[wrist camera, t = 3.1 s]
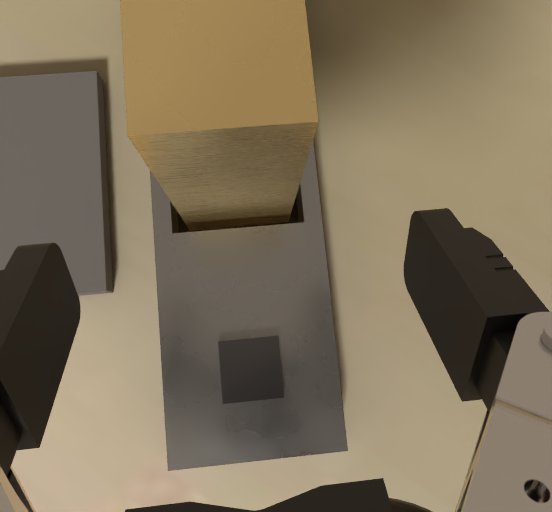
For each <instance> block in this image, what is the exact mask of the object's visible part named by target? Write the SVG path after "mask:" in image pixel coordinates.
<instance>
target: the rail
mask: <svg viewBox="0 0 552 512" xmlns="http://www.w3.org/2000/svg"><path fill="white" fill-rule="evenodd" d="M150 178H151V195H152V212H153V228H154V245H155V262H156V278H157V295H158V312H159V328H160V345H161V362H162V378H163V395H164V412H165V429H166V445H167V462H168V471H171V470H180V469H189V468H198V467H207V466H216V465H225V464H234V463H243V462H252V461H261V460H269V459H278V458H287V457H296V456H305V455H314V454H323V453H332V452H341V451H348V448H347V439H346V430H345V421H344V412H343V403H342V394H341V385H340V376H339V367H338V358H337V349H336V340H335V331H334V322H333V313H332V304H331V295H330V286H329V277H328V268H327V259H326V250H325V241H324V232H323V223H322V214H321V206H320V197H319V188H318V179H317V170H316V161H315V152H314V143H313V142H312V145H311V149H310V152H309V155H308V158H307V162H306V165H305V168H304V172H303V175H302V178H301V182H300V185H299V188H298V191H297V195H296V197H297V207H298V217H299V223H291V224H279V225H267V226H255V227H243V228H231V229H220V230H208V231H196V232H184V233H179V226H178V212H177V210H176V208H175V207H174V205H173V204H172V202H171V201H170V199H169V198H168V196H167V195H166V193H165V192H164V190H163V189H162V187H161V186H160V184H159V183H158V181H157V180H156V178H155V177H154V175H153V174H152V172H151V171H150Z"/></svg>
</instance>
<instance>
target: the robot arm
mask: <svg viewBox="0 0 552 512" xmlns="http://www.w3.org/2000/svg"><path fill="white" fill-rule="evenodd" d="M404 279H405V284H406V287H407V290H408V292H409V294H410V296H411V299H412V301H413V303H414V305H415V307H416V309H417V311H418V313H419V315H420V317H421V319H422V321H423V323H424V325H425V327H426V329H427V331H428V333H429V335H430V337H431V339H432V341H433V343H434V345H435V347H436V349H437V351H438V353H439V356H440V358H441V360H442V362H443V364H444V366H445V368H446V370H447V372H448V374H449V376H450V378H451V380H452V382H453V384H454V386H455V388H456V390H457V392H458V394H459V396H460V398H461V400H462V401H470V400H479V399H482V400H483V402H484V404H485V405H486V407H487V412H486V415H485V417H484V421H483V424H482V427H481V430H480V433H479V437H478V440H477V443H476V446H475V450H474V453H473V456H472V459H471V462H470V466H469V469H468V472H467V475H466V478H465V482H464V485H463V488H462V491H461V494H460V497H459V500H458V503H457V506H456V509H455V512H552V312H549V310H548V309H547V308H546V307H545V305H544V304H543V303H542V302H541V300H540V299H539V298H538V297H537V295H536V294H535V293H534V292H533V291H532V289H531V288H530V287H529V286H528V284H527V283H526V282H525V281H524V279H523V278H522V277H521V276H520V274H519V273H518V272H517V271H516V270H513V266H512V265H511V263H510V262H509V261H508V260H507V258H506V257H503V253H502V252H501V251H500V250H499V248H498V247H497V246H496V245H495V244H494V242H493V241H492V240H491V239H490V238H488V237H486V236H485V235H483V234H482V233H480V232H478V231H477V230H475V229H474V228H463V226H462V225H461V224H460V222H459V221H458V220H457V218H456V217H455V216H454V214H453V213H452V212H451V211H450V210H449V209H447V208H445V209H434V210H423V211H415V212H414V213H413V214H412V216H411V220H410V227H409V234H408V241H407V247H406V254H405V261H404ZM79 320H80V301H79V297H78V294H77V291H76V288H75V286H74V283H73V280H72V277H71V275H70V272H69V269H68V267H67V264H66V261H65V259H64V256H63V253H62V251H61V249H60V247H59V246H58V245H57V244H56V243H44V244H33V245H22V246H18V247H17V248H16V249H15V251H14V253H13V254H12V256H11V258H10V260H9V261H8V263H7V265H6V267H5V269H4V270H0V512H36V511H35V509H34V508H33V506H32V504H31V502H30V500H29V498H28V496H27V494H26V492H25V491H24V489H23V487H22V485H21V483H20V481H19V479H18V477H17V475H16V474H15V472H14V470H13V469H12V467H11V464H12V461H13V458H14V456H15V453H16V450H23V449H32V448H40V444H41V441H42V438H43V435H44V432H45V429H46V425H47V422H48V419H49V416H50V413H51V410H52V406H53V403H54V400H55V397H56V394H57V391H58V387H59V384H60V381H61V378H62V375H63V372H64V368H65V365H66V362H67V359H68V356H69V353H70V350H71V346H72V343H73V340H74V337H75V334H76V331H77V327H78V324H79ZM125 512H432V511H430V510H428V509H426V508H423V507H421V506H418V505H416V504H413V503H409V502H406V501H402V500H398V499H393V498H389V497H388V494H387V490H386V487H385V483H384V480H383V478H382V479H373V480H365V481H357V482H349V483H340V484H332V485H324V486H320V487H317V488H315V489H312V490H310V491H307V492H305V493H302V494H300V495H297V496H295V497H292V498H290V499H287V500H285V501H282V502H280V503H277V504H275V505H272V506H270V507H267V508H265V509H262V510H257V511H251V510H244V509H237V508H230V507H223V506H216V505H209V504H202V503H195V502H184V503H176V504H168V505H160V506H151V507H143V508H135V509H127V510H125Z"/></svg>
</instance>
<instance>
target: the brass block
mask: <svg viewBox="0 0 552 512" xmlns="http://www.w3.org/2000/svg"><path fill="white" fill-rule="evenodd" d="M120 6H121V25H122V43H123V62H124V81H125V99H126V118H127V136H128V137H129V139H130V140H131V142H132V143H133V145H134V146H135V148H136V149H137V151H138V152H139V154H140V155H141V157H142V158H143V160H144V162H145V163H146V165H147V166H148V168H149V169H150V171H151V172H152V174H153V175H154V177H155V178H156V180H157V181H158V183H159V184H160V186H161V187H162V189H163V190H164V192H165V193H166V195H167V196H168V198H169V199H170V201H171V202H172V204H173V205H174V207H175V208H176V210H177V212H178V213H179V215H180V216H181V218H182V219H183V221H184V222H185V224H186V225H187V227H188V228H189V230H190V231H191V230H203V229H214V228H226V227H238V226H250V225H262V224H274V223H285V222H288V221H289V218H290V215H291V211H292V208H293V205H294V201H295V198H296V195H297V191H298V188H299V185H300V182H301V178H302V175H303V172H304V168H305V165H306V162H307V158H308V155H309V152H310V149H311V145H312V142H313V139H314V135H315V132H316V129H317V125H318V122H319V120H318V111H317V103H316V94H315V85H314V76H313V68H312V59H311V50H310V41H309V32H308V24H307V15H306V6H305V0H120Z"/></svg>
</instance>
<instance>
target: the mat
mask: <svg viewBox="0 0 552 512" xmlns="http://www.w3.org/2000/svg"><path fill="white" fill-rule="evenodd" d="M44 243H56V244H57V245H58V246H59V247H60V249H61V251H62V253H63V256H64V259H65V261H66V264H67V267H68V269H69V272H70V275H71V277H72V280H73V283H74V286H75V288H76V291H77V294H78V295H90V294H101V293H112V292H113V280H112V258H111V237H110V216H109V194H108V173H107V151H106V130H105V108H104V87H103V81H102V79H101V77H100V76H99V74H98V72H97V71H85V72H70V73H54V74H39V75H24V76H8V77H0V270H4V269H5V267H6V265H7V263H8V261H9V260H10V258H11V256H12V254H13V253H14V251H15V249H16V248H17V247H18V246H22V245H33V244H44Z"/></svg>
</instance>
